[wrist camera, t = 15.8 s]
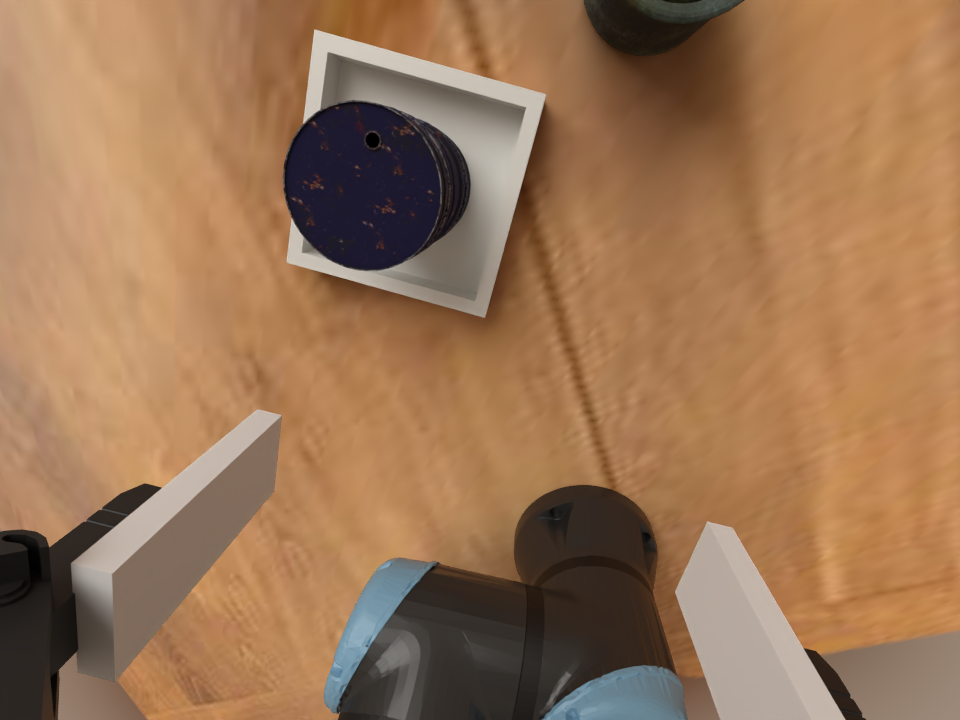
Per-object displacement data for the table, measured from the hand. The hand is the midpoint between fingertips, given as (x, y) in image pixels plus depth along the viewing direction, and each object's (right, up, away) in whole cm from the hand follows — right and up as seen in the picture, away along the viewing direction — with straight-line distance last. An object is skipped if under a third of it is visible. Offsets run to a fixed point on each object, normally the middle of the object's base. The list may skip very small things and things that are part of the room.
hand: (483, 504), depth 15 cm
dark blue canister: (-6, +20, +29) cm, 35 cm away
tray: (-6, +20, +30) cm, 36 cm away
